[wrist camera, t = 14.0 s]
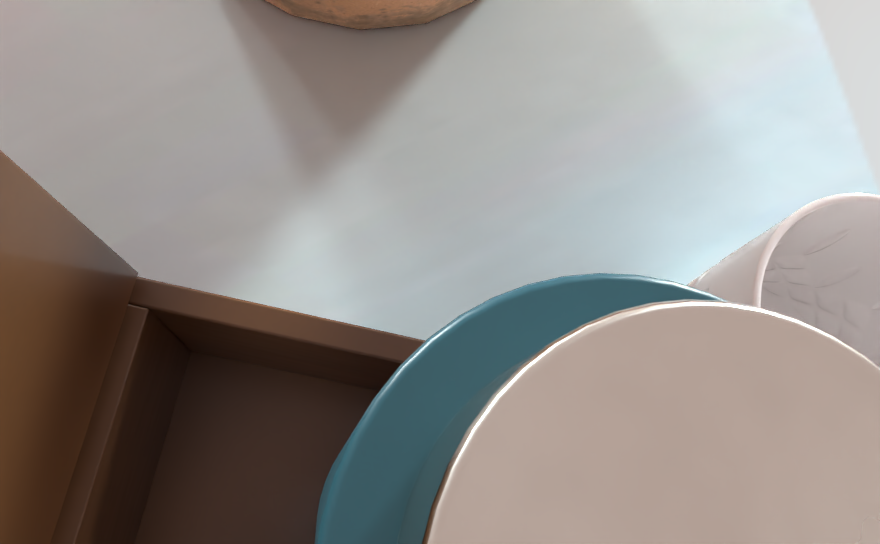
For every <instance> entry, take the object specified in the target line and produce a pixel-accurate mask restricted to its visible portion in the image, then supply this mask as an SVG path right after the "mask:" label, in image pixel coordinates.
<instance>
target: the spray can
mask: <svg viewBox="0 0 880 544" xmlns="http://www.w3.org/2000/svg"><path fill="white" fill-rule="evenodd" d="M315 544H880V367H879V366H878V365H877V364H875V363H874V362H873V361H871V360H870V359H869V358H868V357H866V356H865V355H864V354H862V353H861V352H859V351H857V350H856V349H854V348H852V347H851V346H849V345H847V344H846V343H844V342H842V341H841V340H839V339H837V338H836V337H834V336H832V335H831V334H829V333H826V332H824V331H822V330H820V329H818V328H815V327H813V326H811V325H809V324H806V323H804V322H802V321H800V320H798V319H795V318H792V317H789V316H785V315H782V314H779V313H776V312H772V311H769V310H766V309H763V308H760V307H756V306H750V305H744V304H738V303H733V302H728V301H726V300H724V299H722V298H719V297H717V296H715V295H713V294H710V293H708V292H705V291H702V290H699V289H695V288H692V287H689V286H686V285H682V284H679V283H676V282H673V281H668V280H663V279H657V278H651V277H645V276H640V275H630V274H607V273H596V274H584V275H573V276H563V277H558V278H554V279H550V280H545V281H541V282H536V283H532V284H528V285H525V286H522V287H520V288H517V289H514V290H512V291H509V292H506V293H504V294H501V295H498V296H496V297H493V298H491V299H489V300H487V301H486V302H484V303H482V304H480V305H478V306H476V307H475V308H473V309H471V310H469V311H467V312H465V313H463V314H462V315H460V316H458V317H457V318H456V319H454V320H453V321H452V322H450V323H449V324H447V325H446V326H445V327H443V328H442V329H441V330H439V331H438V332H437V333H435V334H434V335H432V336H431V337H430V338H428V339H427V340H426V341H425V342H424V343H423V344H422V345H421V346H420V347H419V348H418V349H417V350H416V351H415V352H414V353H413V354H412V355H411V356H410V357H409V358H407V359H406V360H405V361H404V362H403V363H402V364H401V365H400V366H399V367H398V369H397V370H396V371H395V372H394V374H393V375H392V376H391V377H390V379H389V380H388V381H387V382H386V384H385V385H384V386H383V387H382V389H381V390H380V391H379V392H378V394H377V395H376V396H375V397H374V399H373V400H372V402H371V404H370V405H369V407H368V408H367V410H366V412H365V413H364V415H363V416H362V418H361V420H360V421H359V423H358V424H357V426H356V428H355V429H354V431H353V432H352V434H351V436H350V437H349V439H348V440H347V442H346V444H345V445H344V447H343V448H342V450H341V452H340V453H339V455H338V457H337V458H336V460H335V462H334V463H333V465H332V467H331V469H330V472H329V474H328V476H327V478H326V481H325V484H324V487H323V490H322V494H321V497H320V502H319V507H318V513H317V522H316V533H315Z"/></svg>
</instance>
